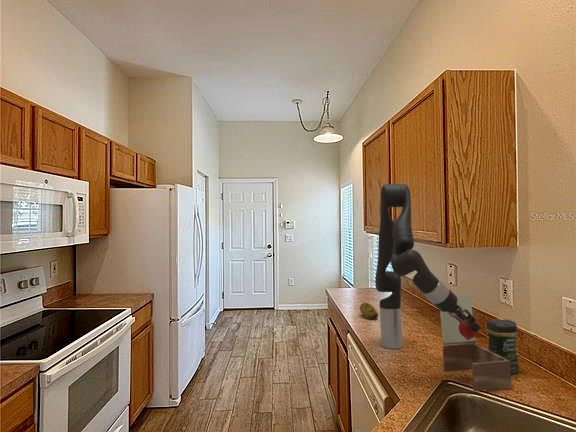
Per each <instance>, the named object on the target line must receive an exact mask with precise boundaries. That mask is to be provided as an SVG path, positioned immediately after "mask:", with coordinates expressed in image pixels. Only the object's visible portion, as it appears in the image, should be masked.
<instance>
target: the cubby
mask: <svg viewBox="0 0 576 432" xmlns="http://www.w3.org/2000/svg"><path fill="white" fill-rule="evenodd" d="M442 361H443V364H442V365H443V371H444V372H453V371H462V370H471V371H472V372H471V374H472V391H473V390H474V391H478V390H486V391H485V392H493V391H501V390H502V391H503V390H504V391H505V390H511V389H512V374H511V364H510V361H509V360H507V359H505V358H503V357H501V356H499V355H497V354H495V353H493V352H491V351H489V350H488V348H485V347H484V346H482V345H479V344H477V343H476V342H474V343H462V344H450V345H442ZM474 391H473V392H474Z"/></svg>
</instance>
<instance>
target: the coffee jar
mask: <svg viewBox="0 0 576 432" xmlns="http://www.w3.org/2000/svg"><path fill="white" fill-rule="evenodd" d="M486 332H487V336H488V348H487V350H489V351H491V352H493V353H495V354H497V355H499V356H501V357H503V358H505V359H507V360H509V361H510V364H511V375H514V374H518V373H519V372H520V368H519V361H518V354H517V343H516V340H517V336H518V326H517V323H516V322H515V321H513V320H511V319H508V318H507V319H491V320H490V319H489V320H487V322H486Z"/></svg>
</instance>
